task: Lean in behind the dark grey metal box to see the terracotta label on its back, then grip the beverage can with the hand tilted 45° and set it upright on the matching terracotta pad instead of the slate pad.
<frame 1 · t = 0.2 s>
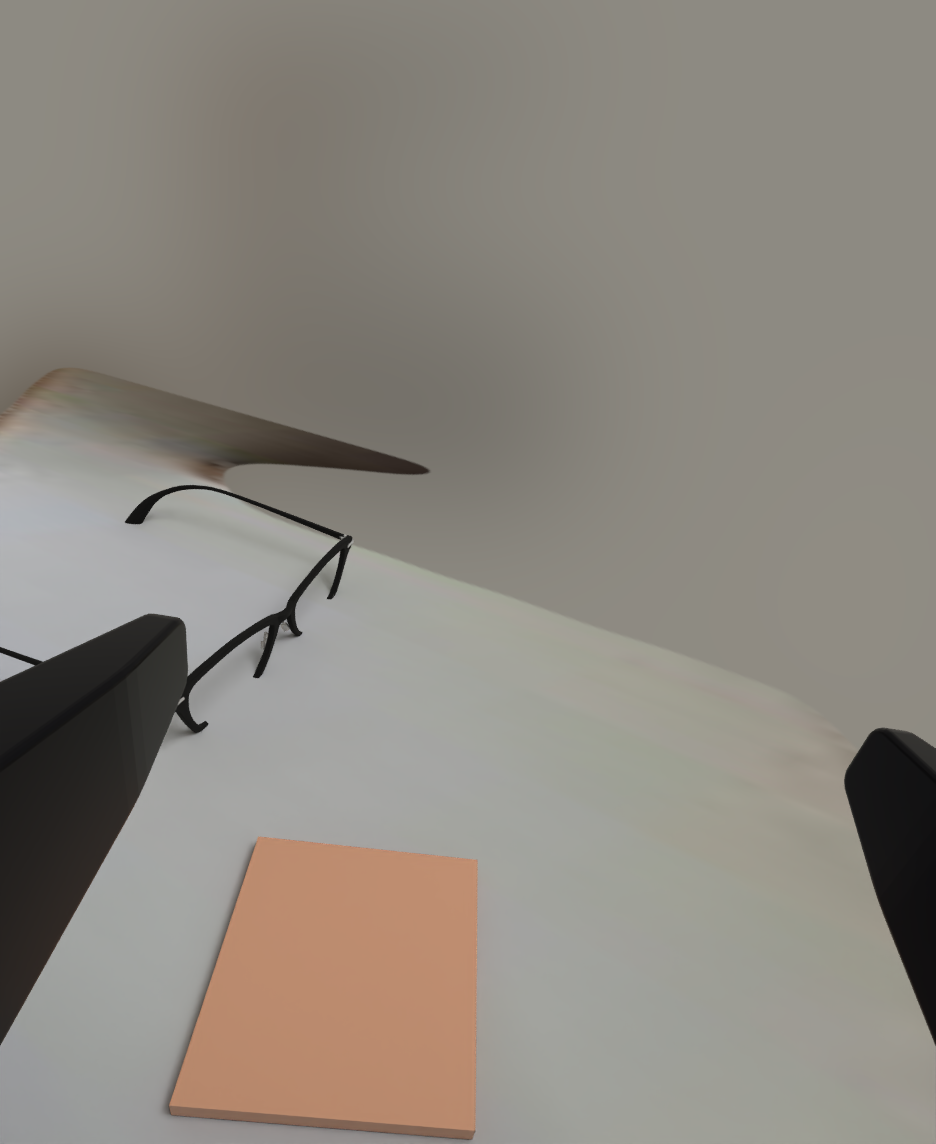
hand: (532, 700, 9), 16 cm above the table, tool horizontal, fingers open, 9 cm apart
eyeglasses: (158, 620, 35), on the table
terracotta pad: (349, 971, 21), on the table
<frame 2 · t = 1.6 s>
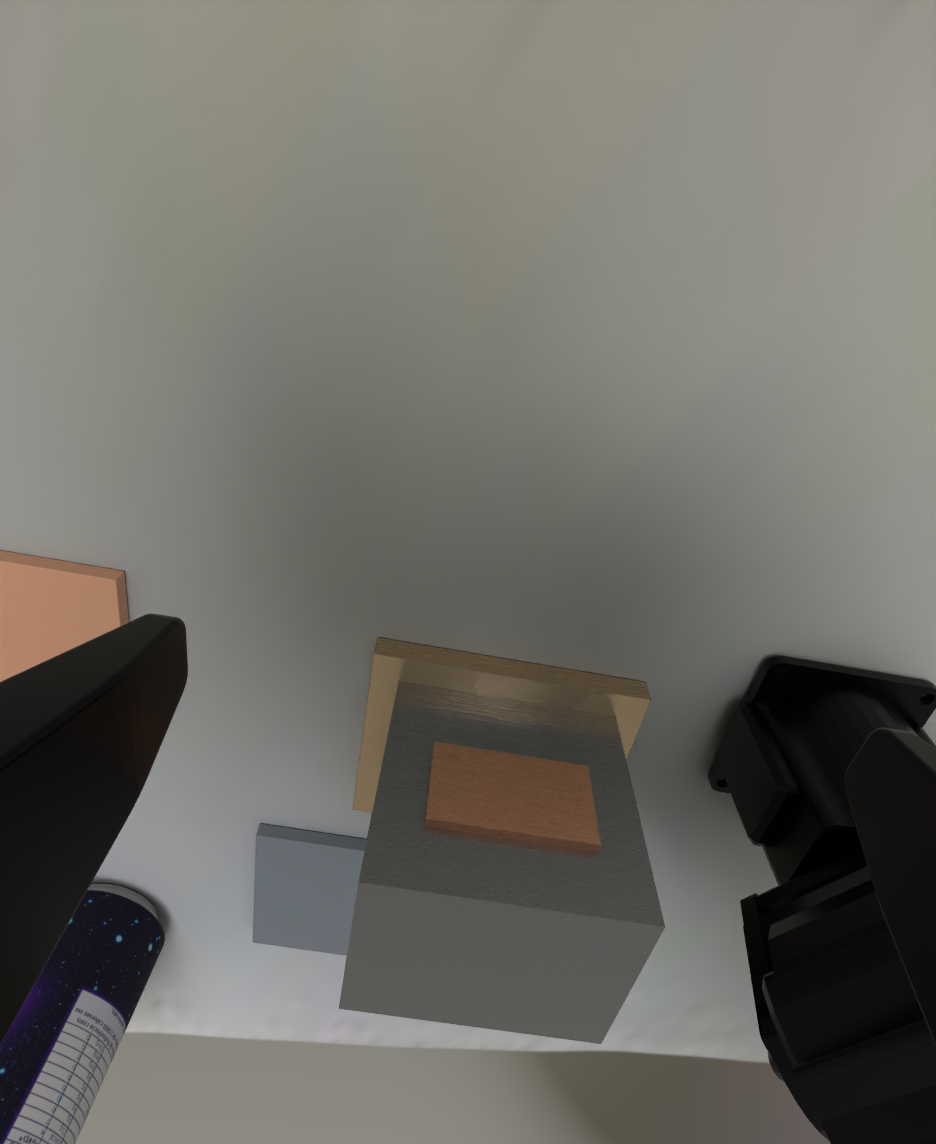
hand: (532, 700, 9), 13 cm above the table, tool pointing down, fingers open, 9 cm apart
grey unit: (492, 739, 26), on the table
terracotta pad: (24, 644, 25), on the table
slate pad: (343, 892, 31), on the table
beverage can: (116, 906, 33), on the table
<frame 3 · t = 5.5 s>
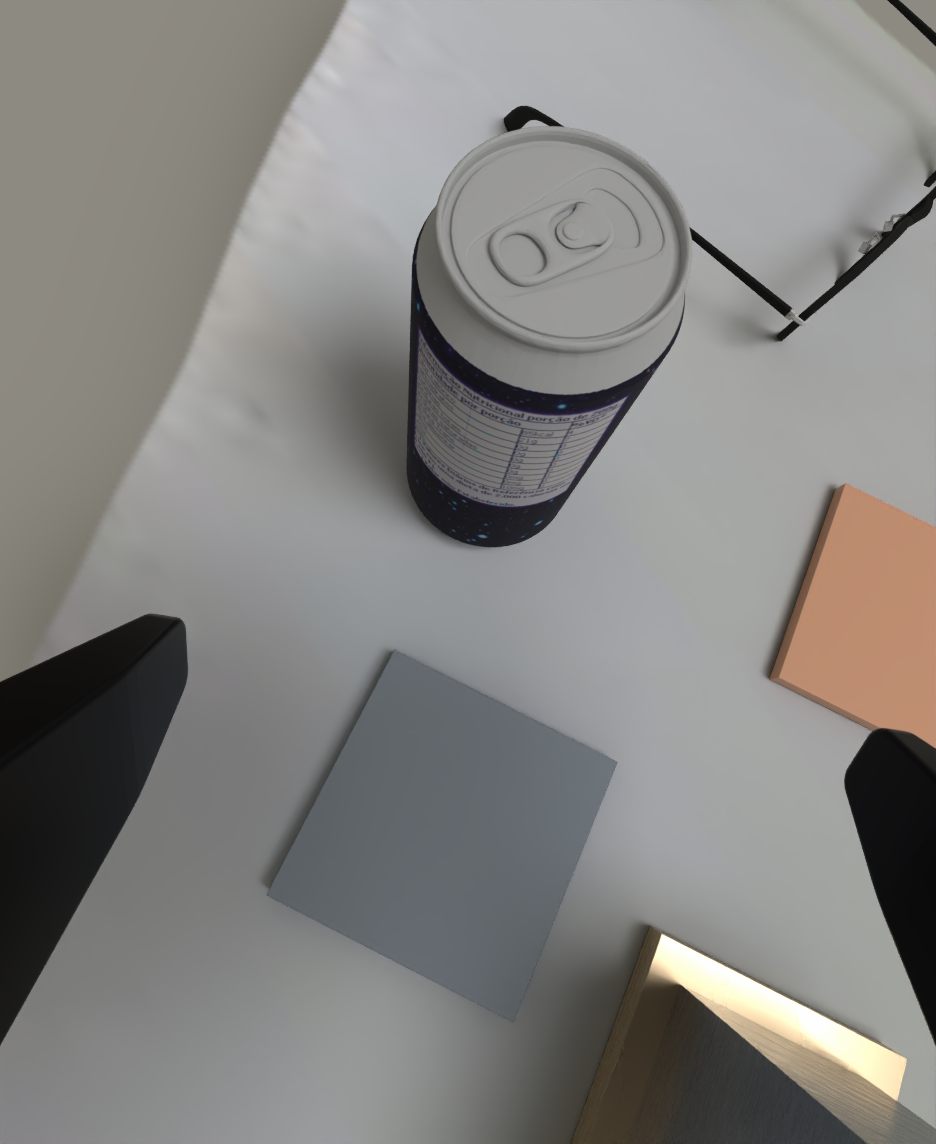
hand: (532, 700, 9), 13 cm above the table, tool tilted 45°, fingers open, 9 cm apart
eyeglasses: (726, 164, 29), on the table
terracotta pad: (903, 629, 24), on the table
slate pad: (449, 823, 21), on the table
beverage can: (484, 481, 24), on the table
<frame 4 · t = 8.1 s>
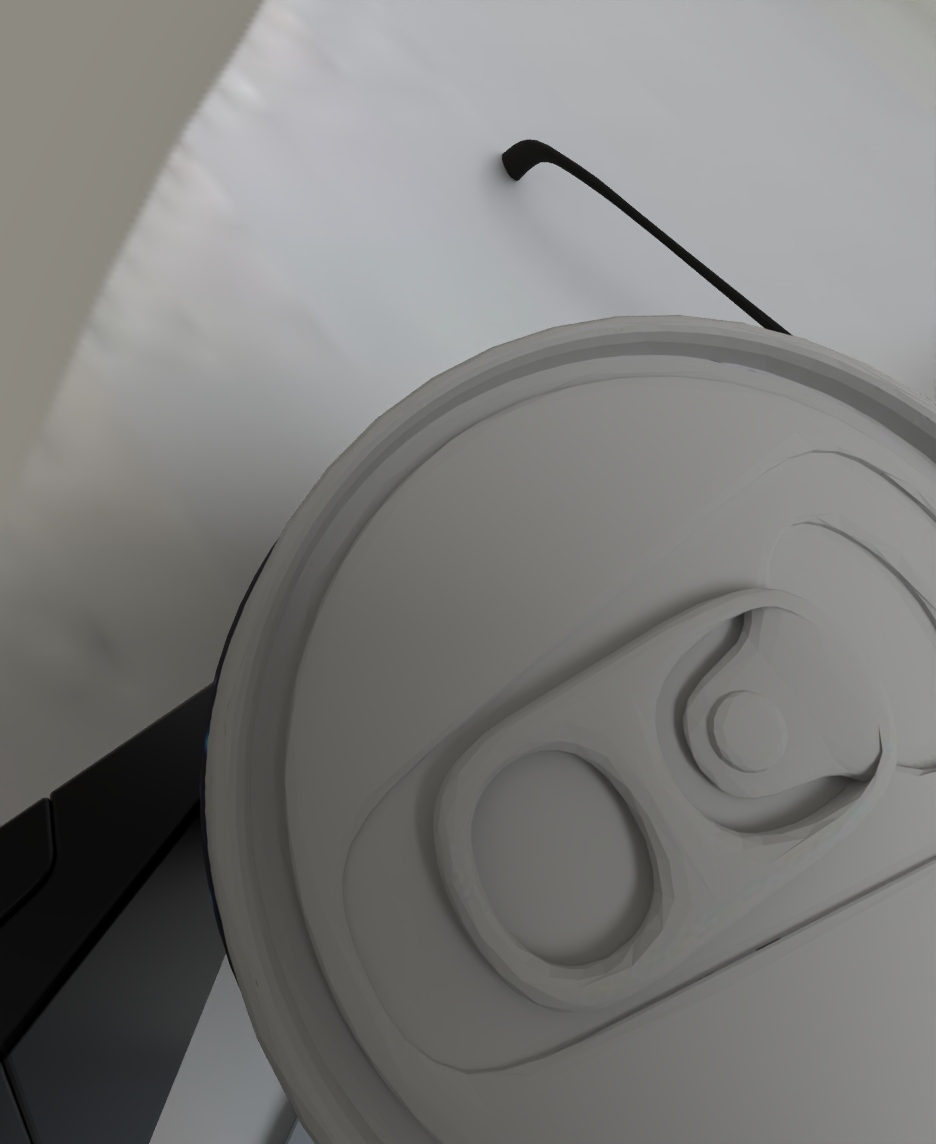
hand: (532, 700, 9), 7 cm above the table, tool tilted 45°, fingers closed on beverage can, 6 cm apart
eyeglasses: (823, 217, 20), on the table
beverage can: (470, 745, 15), on the table, touching gripper
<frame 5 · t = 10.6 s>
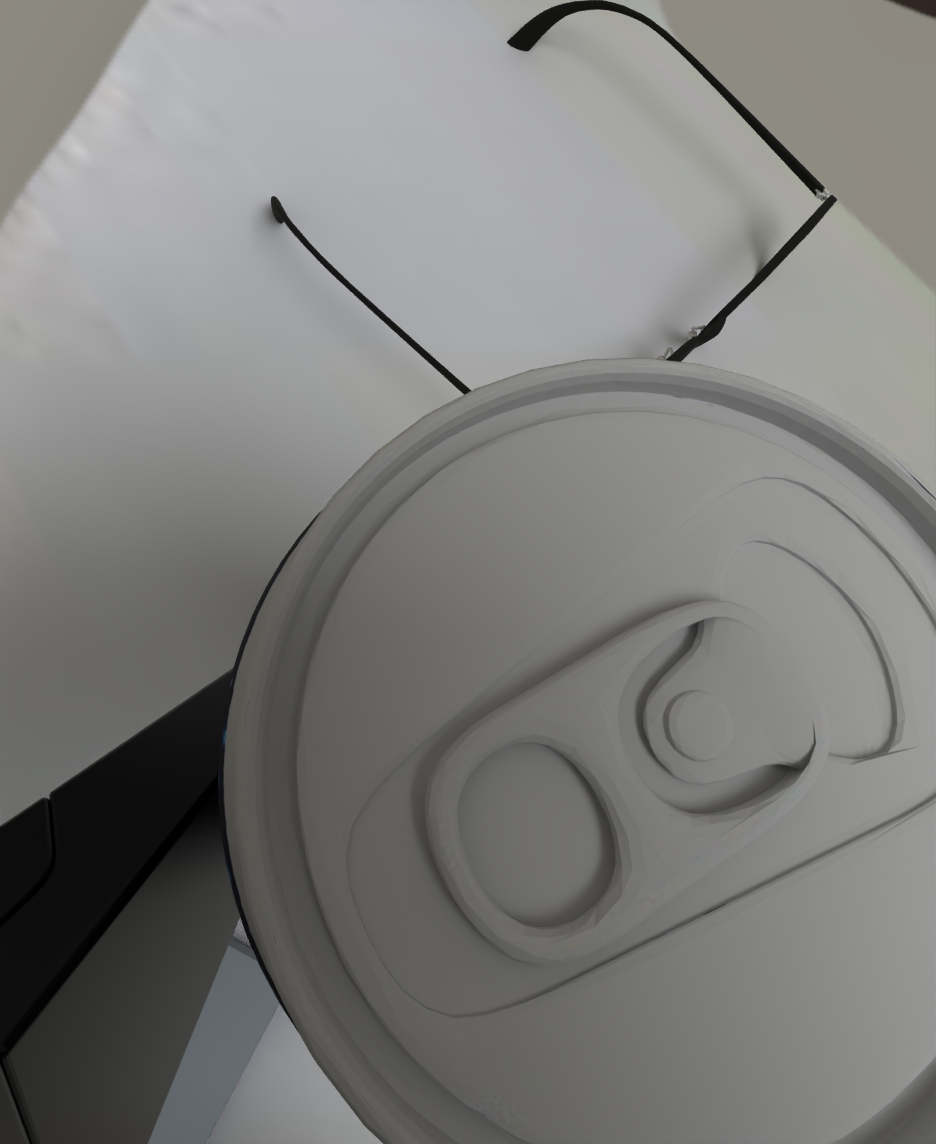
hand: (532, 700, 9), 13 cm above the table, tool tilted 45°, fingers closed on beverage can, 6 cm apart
eyeglasses: (530, 254, 26), on the table
slate pad: (90, 1047, 18), on the table
beverage can: (467, 743, 15), point 6 cm above the table, touching gripper
when the fingers open (8 cm above the table, at t = 13.0 s): beverage can stays where it is, resting on terracotta pad.
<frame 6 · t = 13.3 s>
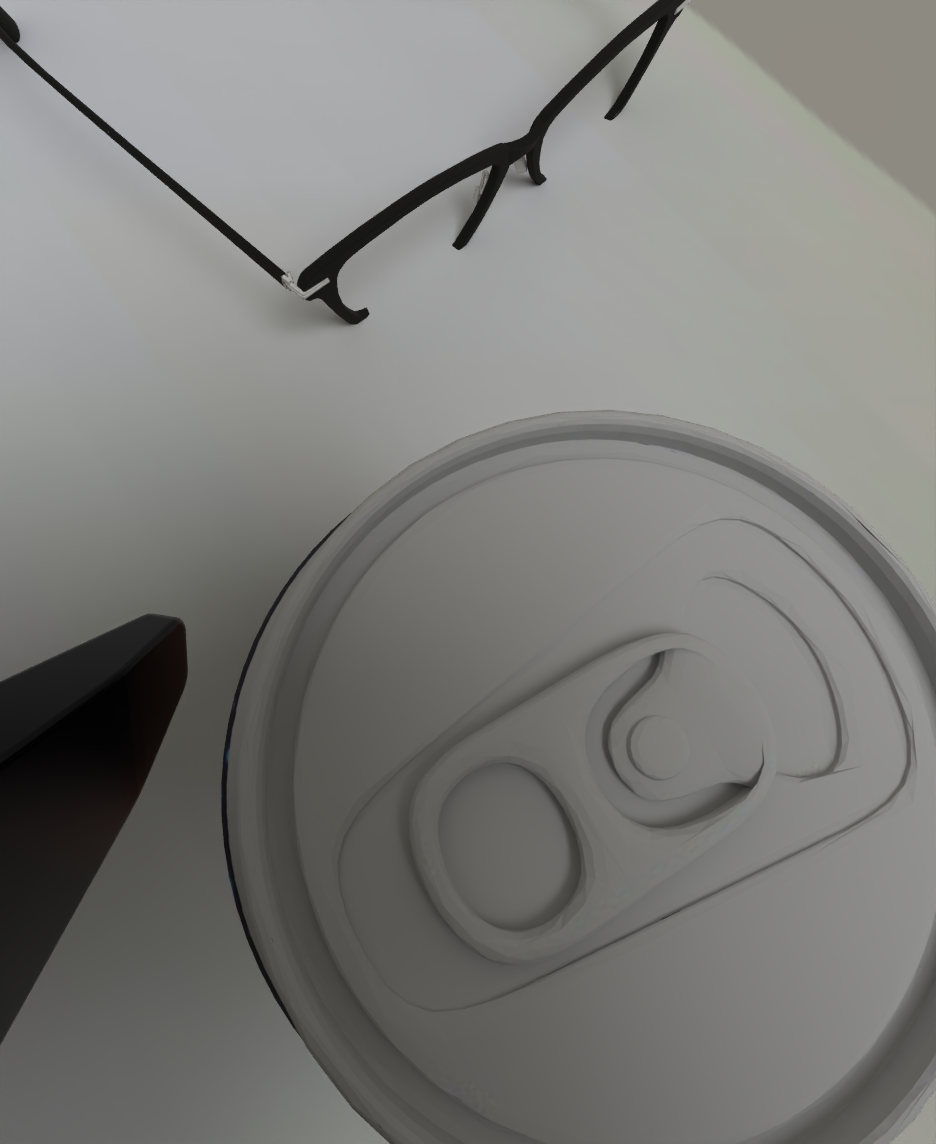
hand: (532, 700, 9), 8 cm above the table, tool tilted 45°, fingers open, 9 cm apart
eyeglasses: (338, 87, 22), on the table
beverage can: (461, 754, 16), resting on terracotta pad
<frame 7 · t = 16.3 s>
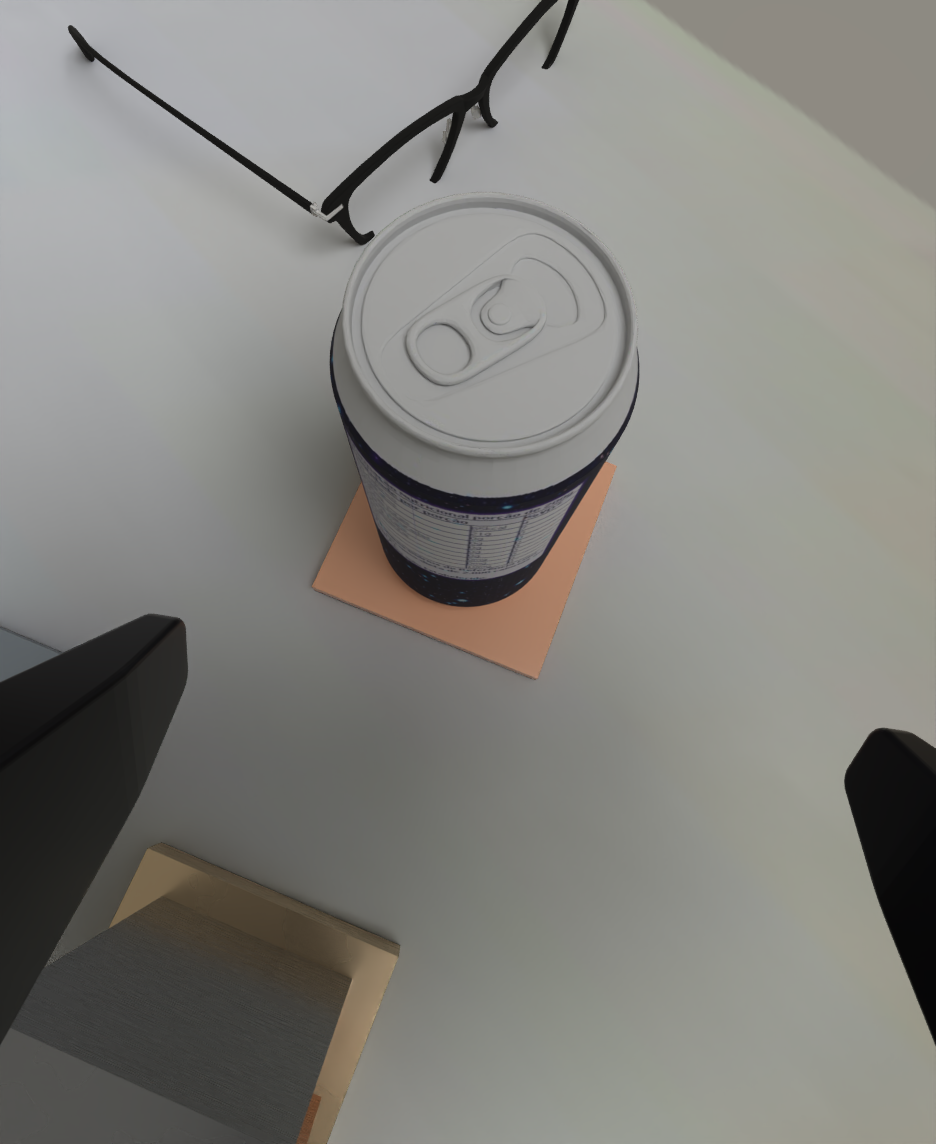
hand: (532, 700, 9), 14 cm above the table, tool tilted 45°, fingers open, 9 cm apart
eyeglasses: (332, 68, 28), on the table
grey unit: (204, 1068, 19), on the table
terracotta pad: (468, 529, 23), on the table
beverage can: (464, 531, 23), resting on terracotta pad
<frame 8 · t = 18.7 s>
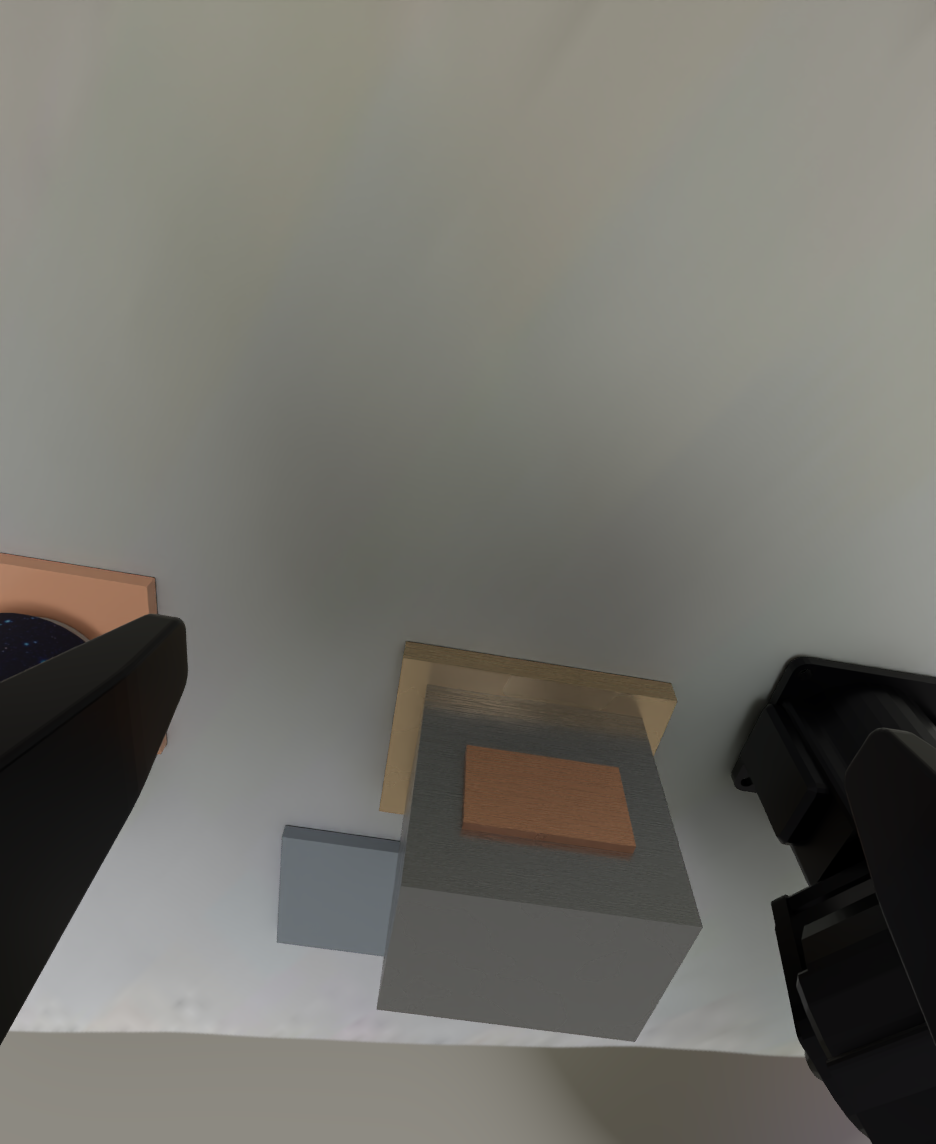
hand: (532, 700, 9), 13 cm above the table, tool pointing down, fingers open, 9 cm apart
grey unit: (517, 741, 26), on the table
terracotta pad: (53, 650, 25), on the table
slate pad: (366, 892, 32), on the table
beverage can: (53, 659, 25), resting on terracotta pad
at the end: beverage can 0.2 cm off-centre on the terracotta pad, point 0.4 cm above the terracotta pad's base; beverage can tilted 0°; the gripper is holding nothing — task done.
